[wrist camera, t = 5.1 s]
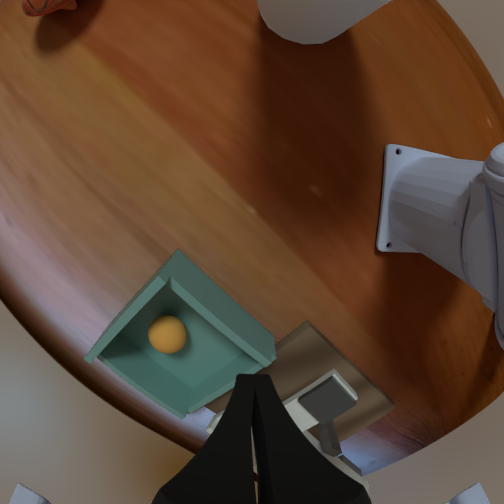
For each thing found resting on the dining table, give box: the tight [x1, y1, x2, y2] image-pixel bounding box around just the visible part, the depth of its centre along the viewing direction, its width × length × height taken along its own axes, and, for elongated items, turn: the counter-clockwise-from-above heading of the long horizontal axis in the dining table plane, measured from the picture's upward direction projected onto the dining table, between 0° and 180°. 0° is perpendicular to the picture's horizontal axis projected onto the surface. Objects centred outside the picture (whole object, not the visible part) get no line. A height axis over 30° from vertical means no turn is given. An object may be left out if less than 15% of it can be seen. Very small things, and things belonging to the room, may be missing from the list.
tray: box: [206, 369, 370, 497], centre depth 19 cm, size 16×11×5 cm, turn 43°
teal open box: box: [84, 249, 277, 419], centre depth 20 cm, size 10×10×5 cm
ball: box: [148, 315, 187, 354], centre depth 20 cm, size 3×3×3 cm
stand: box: [204, 320, 396, 457], centre depth 22 cm, size 17×13×8 cm
